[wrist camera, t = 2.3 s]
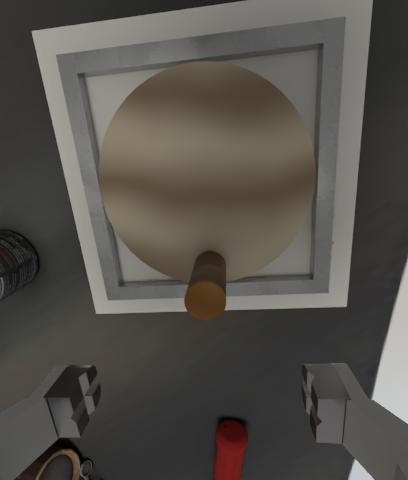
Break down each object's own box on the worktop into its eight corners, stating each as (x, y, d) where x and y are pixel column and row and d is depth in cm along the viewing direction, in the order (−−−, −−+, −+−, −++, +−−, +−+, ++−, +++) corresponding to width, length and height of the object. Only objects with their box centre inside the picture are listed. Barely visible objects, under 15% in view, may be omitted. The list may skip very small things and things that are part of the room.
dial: (89, 82, 18) (15, 41, 12) (313, 55, 17) (366, -8, 10) (125, 279, 23) (85, 327, 16) (305, 271, 21) (340, 321, 15)
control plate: (54, 45, 20) (20, 24, 17) (354, 4, 18) (383, -29, 15) (107, 299, 27) (91, 320, 24) (335, 292, 25) (352, 313, 21)
